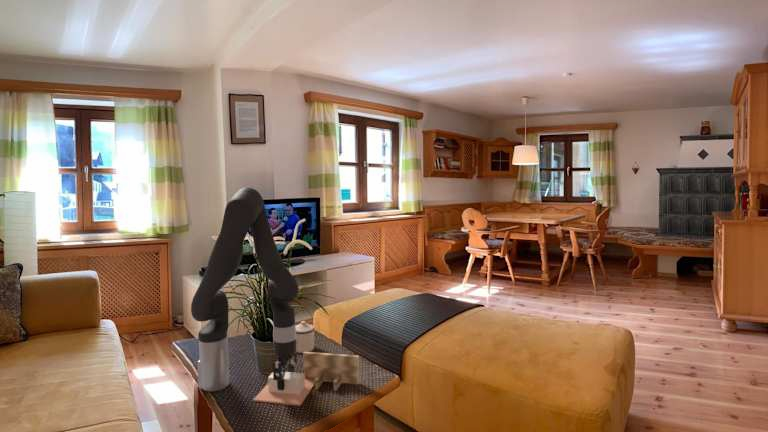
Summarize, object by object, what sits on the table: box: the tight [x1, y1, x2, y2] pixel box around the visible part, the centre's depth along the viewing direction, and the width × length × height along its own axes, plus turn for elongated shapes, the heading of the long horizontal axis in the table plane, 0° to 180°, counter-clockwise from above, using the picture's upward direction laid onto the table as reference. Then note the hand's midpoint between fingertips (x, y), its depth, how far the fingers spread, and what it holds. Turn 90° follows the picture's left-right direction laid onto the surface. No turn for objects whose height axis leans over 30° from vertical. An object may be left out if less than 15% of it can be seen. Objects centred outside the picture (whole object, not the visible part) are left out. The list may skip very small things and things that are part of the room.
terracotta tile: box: [252, 379, 315, 407], centre depth 149 cm, size 16×16×1 cm
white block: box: [267, 371, 305, 395], centre depth 148 cm, size 5×11×5 cm, turn 79°
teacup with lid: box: [295, 320, 315, 354], centre depth 182 cm, size 12×9×12 cm
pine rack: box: [302, 351, 360, 393], centre depth 152 cm, size 20×7×10 cm, turn 80°
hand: (286, 383), depth 148 cm, fingers open, 8 cm apart
